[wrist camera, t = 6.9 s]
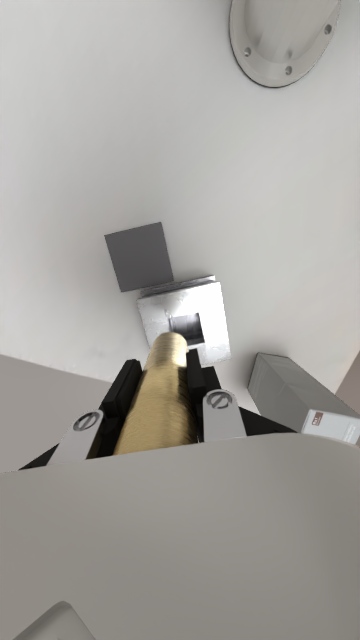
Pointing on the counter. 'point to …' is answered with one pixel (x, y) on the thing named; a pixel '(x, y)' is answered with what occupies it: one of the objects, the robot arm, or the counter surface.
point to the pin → (160, 401)
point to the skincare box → (300, 400)
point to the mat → (140, 257)
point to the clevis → (188, 316)
